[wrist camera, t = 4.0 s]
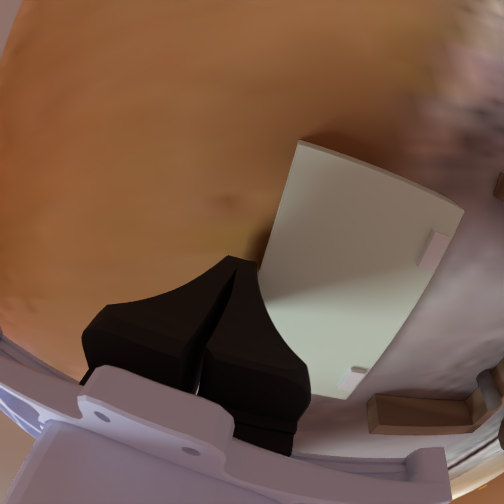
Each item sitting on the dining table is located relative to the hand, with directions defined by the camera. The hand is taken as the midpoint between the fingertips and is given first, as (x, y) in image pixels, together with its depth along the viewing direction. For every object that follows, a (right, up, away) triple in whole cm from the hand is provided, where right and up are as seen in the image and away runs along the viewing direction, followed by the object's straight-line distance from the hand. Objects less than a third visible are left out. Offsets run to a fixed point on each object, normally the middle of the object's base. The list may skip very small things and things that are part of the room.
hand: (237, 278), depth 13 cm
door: (+4, 0, +1) cm, 5 cm away
